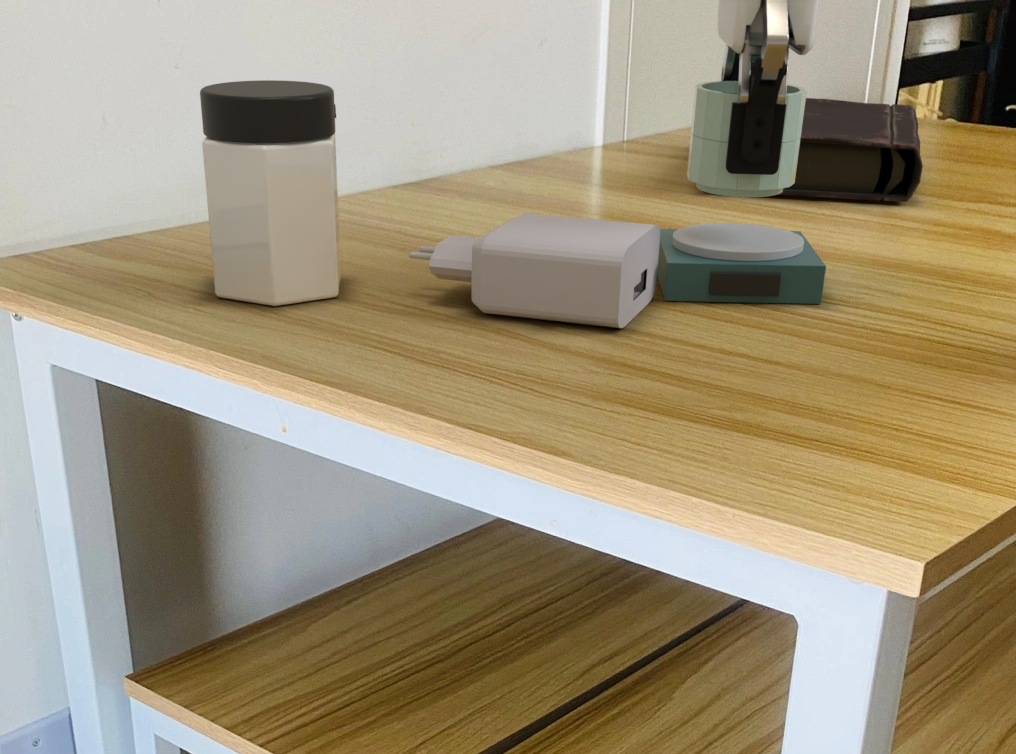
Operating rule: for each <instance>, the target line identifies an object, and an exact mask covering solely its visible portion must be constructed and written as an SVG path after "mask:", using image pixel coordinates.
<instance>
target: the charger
mask: <svg viewBox="0 0 1016 754" xmlns="http://www.w3.org/2000/svg"><path fill="white" fill-rule="evenodd" d="M660 229H661V228H660V225H658V224H651V223H642V222H641V223H640V222H627V221H616V220H608V219H607V220H606V219H594V218H581V217H573V216H572V217H570V216H559V215H550V214H537V213H521V214H519V215H518V216H515V217H512V218H511V219H509V220H506V221H505V222H503V223H502V224H500V225H498V226H496V227H495V228H493V229H492V230H489V231H488V232H487V233H485V234H483V235H481V236H480V237H479V236H478V237H477V236H468V235H467V236H466V235H459V234H451V235H450V236H448V237H446V238H444V239H442V240H441V241H439V242H438V243H437V245H436V246H429V245H421V246H419V250H418V251H411V250H410V252H409V253H408V257H409V258H410V259H414V260H422V261H423V260H426V261H429V264H428V269H429V271H430V273H431V274H432V275H433V276H435V277H436V278H437V279H439V280H446V281H456V282H465V283H467V282H468V283H471V303H473V304H474V305H475V306H476V307H477V308H478V309H479V310H480V311H481V312H482V313H483V314H489V315H500V316H506V317H507V316H509V317H518V318H527V319H535V320H543V321H554V322H562V323H571V324H581V325H589V326H598V327H607V328H616V329H623V328H625V327H626V326H627V325H628V324H629V323H630V322H631V321H632V320H633V319H635V317H637V315H639V313H640V312H641V311H642V310H644V309H645V307H647V306H648V305H649V304H650V303H651V301H652V299H653V298H654V295H655V293H656V288H657V284H658V283H657V281H658V277H657V271H658V258H659V245H660Z"/></svg>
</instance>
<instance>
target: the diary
mask: <svg viewBox="0 0 1016 754" xmlns="http://www.w3.org/2000/svg"><path fill="white" fill-rule="evenodd" d="M923 167H924V165H923V161H922V157H921V140H920V136H919V121H918V117H917V112H916V108H915V107H914V105H913V104H893V103H892V104H891V105H890V104H889V103H874V102H861V101H860V102H859V101H849V100H839V99H831V98H815V97H814V98H813V97H812V98H811V97H806V101H805V109H804V116H803V124H802V132H801V138H800V146H799V154H798V161H797V169H796V177H795V183H794V184H793V185H792V186H790V187H788V188H784V189H783V192H782V193H780V194H777V195H779V196H780V195H781V196H794V197H795V196H796V197H797V196H799V197H811V198H812V197H815V198H830V199H832V198H833V199H847V200H848V199H849V200H863V201H864V200H866V201H881V200H883V201H884V202H898V203H899V202H900V203H908V201H909V200H910V199H911V198H912V197H913V195H914V193H915V192H916V190H917V189H918V187H919V185H920V183H921V179H922V174H923Z"/></svg>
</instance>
